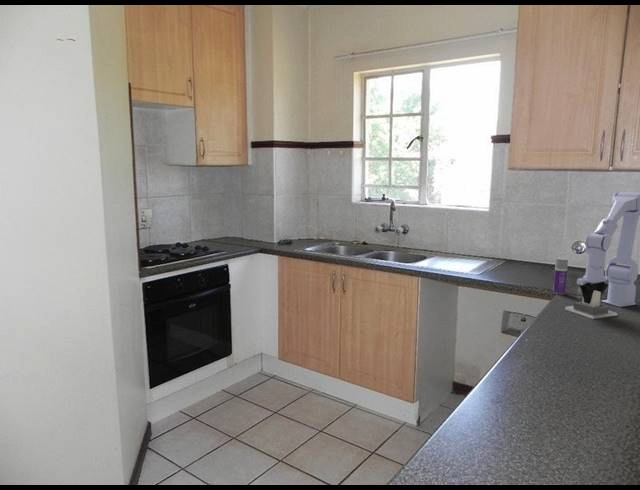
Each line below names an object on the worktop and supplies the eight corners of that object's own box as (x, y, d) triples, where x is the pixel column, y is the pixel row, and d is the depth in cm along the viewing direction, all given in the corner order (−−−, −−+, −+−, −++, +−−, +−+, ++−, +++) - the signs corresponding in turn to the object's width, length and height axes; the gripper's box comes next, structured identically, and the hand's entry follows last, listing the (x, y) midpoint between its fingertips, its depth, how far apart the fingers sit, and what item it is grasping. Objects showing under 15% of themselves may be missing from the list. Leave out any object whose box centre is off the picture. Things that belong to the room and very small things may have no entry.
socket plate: (587, 306, 182) (588, 298, 182) (616, 315, 171) (617, 307, 171) (564, 309, 178) (565, 301, 178) (593, 318, 167) (594, 310, 167)
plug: (589, 304, 177) (591, 286, 176) (599, 307, 174) (601, 288, 172) (581, 305, 176) (583, 287, 175) (591, 308, 172) (593, 289, 171)
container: (558, 294, 199) (561, 259, 197) (550, 291, 204) (553, 257, 201) (567, 294, 200) (570, 259, 198) (559, 291, 205) (562, 257, 203)
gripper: (599, 263, 178) (595, 297, 180) (571, 265, 173) (567, 301, 175) (617, 266, 172) (613, 302, 174) (588, 269, 167) (584, 306, 169)
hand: (591, 302), depth 174 cm, fingers closed on plug, 4 cm apart
